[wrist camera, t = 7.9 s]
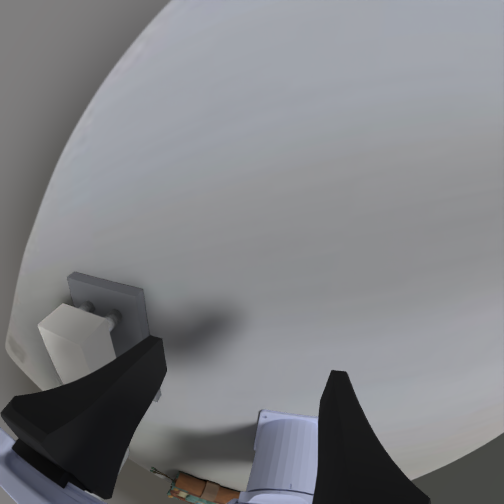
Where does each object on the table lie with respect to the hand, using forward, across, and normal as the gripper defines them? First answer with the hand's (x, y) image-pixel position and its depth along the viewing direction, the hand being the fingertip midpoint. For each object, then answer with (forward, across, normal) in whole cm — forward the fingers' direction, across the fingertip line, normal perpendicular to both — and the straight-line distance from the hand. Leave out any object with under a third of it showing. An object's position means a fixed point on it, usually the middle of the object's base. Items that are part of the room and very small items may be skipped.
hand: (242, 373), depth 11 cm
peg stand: (+9, +14, +10) cm, 20 cm away
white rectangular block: (+6, +14, +10) cm, 19 cm away
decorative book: (+10, +9, +48) cm, 50 cm away
